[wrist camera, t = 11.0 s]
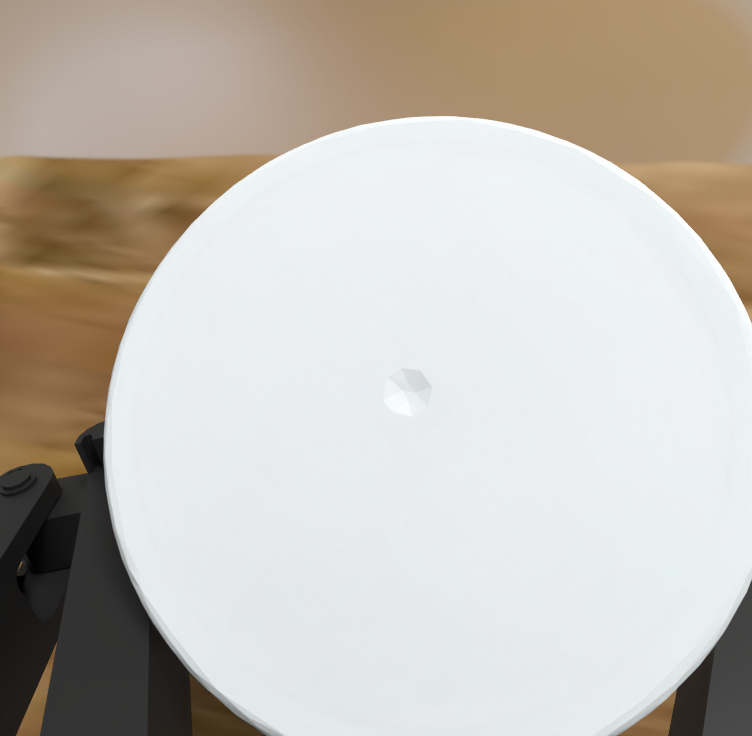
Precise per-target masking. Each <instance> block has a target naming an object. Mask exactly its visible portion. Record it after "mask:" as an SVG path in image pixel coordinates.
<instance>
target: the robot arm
mask: <svg viewBox="0 0 752 736" xmlns="http://www.w3.org/2000/svg"><path fill="white" fill-rule="evenodd" d="M104 426H105V421H104V422H101V423H98V424H96V425H95V426H93V427H91V428H89V429H87V430H86V431H85V432H84V433H82V434H81V435H80V436H79V437H78V439H77V441H76V442H75V444H74V445H75V447H76V449H77V451H78V453H79V455H80V457H81V459H82V461H83V464H84V466H85V468H86V470H87V472H88V473H87V474H81V475H76V476H70V477H64V478H59V479H57V478H56V476H55V474H54V472H53V470H52V468H51V467H50V466H48V465H46V464H29V465H25V466H20V467H17V468H15V469H12V470H10V471H8V472H6V473H5V474H3V475H2V476H0V736H16V734H17V731H18V729H19V727H20V725H21V722H22V720H23V718H24V715H25V713H26V711H27V709H28V706H29V704H30V702H31V700H32V697H33V695H34V693H35V690H36V688H37V686H38V684H39V681H40V679H41V677H42V674H43V672H44V670H45V668H46V665H47V663H48V661H49V658H50V656H51V654H52V652H53V649H54V647H55V645H56V643H57V646H56V652H55V657H54V663H53V668H52V674H51V679H50V685H49V690H48V695H47V701H46V706H45V712H44V717H43V723H42V728H41V734H40V736H192V718H191V699H190V681H189V671H188V670H187V668H186V667H185V666H184V665H183V663H182V662H181V661H180V659H179V658H178V657H177V656H176V654H175V653H174V652H173V651H172V649H171V648H170V647H169V645H168V644H167V643H166V641H165V640H164V638H163V637H162V636H161V634H160V633H159V631H158V630H157V628H156V627H155V626H154V624H153V623H152V621H151V619H150V617H149V615H148V614H147V612H146V610H145V608H144V606H143V604H142V602H141V600H140V598H139V596H138V594H137V592H136V590H135V588H134V586H133V584H132V582H131V579H130V577H129V575H128V572H127V570H126V567H125V565H124V563H123V560H122V558H121V554H120V551H119V548H118V544H117V541H116V538H115V534H114V531H113V526H112V521H111V516H110V511H109V506H108V500H107V494H106V487H105V474H104V459H103V455H104ZM21 561H22V565H21V567H20V569H19V570H18V568H19V565H20V563H21ZM17 571H18V572H17ZM57 640H58V641H57ZM668 736H752V580H751V582H750V585H749V588H748V590H747V593H746V594H745V596H744V598H743V600H742V601H741V603H740V605H739V607H738V609H737V610H736V612H735V614H734V616H733V617H732V619H731V621H730V623H729V624H728V626H727V628H726V630H725V631H724V633H723V634H722V636H721V637H720V639H719V640H718V641H717V643H716V644H715V646H714V647H713V649H712V650H711V651H710V652H709V654H708V655H707V656H706V658H705V659H704V660H703V661H702V663H701V664H700V665H699V666H698V667H697V668H696V669H695V670H694V672H693V673H692V674H691V675H690V676H689V677H688V678H687V679H686V680H685V681H684V682H683V683H682V684H681V685H680V686H679V687H678V688H677V693H676V698H675V704H674V709H673V714H672V719H671V724H670V730H669V735H668Z"/></svg>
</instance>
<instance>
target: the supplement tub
mask: <svg viewBox="0 0 752 736" xmlns="http://www.w3.org/2000/svg"><path fill="white" fill-rule="evenodd" d="M103 459H104V474H105V487H106V494H107V500H108V506H109V511H110V516H111V521H112V526H113V531H114V534H115V538H116V541H117V544H118V548H119V551H120V554H121V558H122V560H123V563H124V565H125V567H126V570H127V572H128V575H129V577H130V579H131V582H132V584H133V586H134V588H135V590H136V592H137V594H138V596H139V598H140V600H141V602H142V604H143V606H144V608H145V610H146V612H147V614H148V615H149V617H150V619H151V621H152V623H153V624H154V626H155V627H156V628H157V630H158V631H159V633H160V634H161V636H162V637H163V638H164V640H165V641H166V643H167V644H168V645H169V647H170V648H171V649H172V651H173V652H174V653H175V654H176V656H177V657H178V658H179V659H180V661H181V662H182V663H183V665H184V666H185V667H186V668H187V670H188V671H189V672H190V673H191V674H192V675H193V676H194V677H195V678H196V679H197V680H198V681H199V682H200V683H201V684H202V685H203V686H204V687H205V688H206V689H207V690H208V691H210V692H211V693H212V694H213V695H214V696H215V697H217V698H218V699H219V700H220V701H221V702H222V703H223V704H224V705H225V706H227V707H228V708H229V709H230V710H231V711H232V712H233V713H234V714H235V715H237V716H238V717H240V718H241V719H242V720H244V721H245V722H247V723H248V724H250V725H251V726H253V727H254V728H256V729H257V730H259V731H260V732H262V733H263V734H265V735H266V736H617V735H619V734H620V733H622V732H623V731H625V730H627V729H628V728H630V727H631V726H633V725H634V724H635V723H637V722H638V721H639V720H641V719H642V718H644V717H645V716H646V715H648V714H649V713H650V712H652V711H653V710H654V709H655V708H657V707H658V706H659V705H660V704H661V703H662V702H664V701H665V700H666V699H667V698H668V697H669V696H670V695H671V694H672V693H673V692H674V691H675V690H676V689H677V688H678V687H679V686H680V685H681V684H682V683H683V682H684V681H685V680H686V679H687V678H688V677H689V676H690V675H691V674H692V673H693V672H694V670H695V669H696V668H697V667H698V666H699V665H700V664H701V663H702V661H703V660H704V659H705V658H706V656H707V655H708V654H709V652H710V651H711V650H712V649H713V647H714V646H715V644H716V643H717V641H718V640H719V639H720V637H721V636H722V634H723V633H724V631H725V630H726V628H727V626H728V624H729V623H730V621H731V619H732V617H733V616H734V614H735V612H736V610H737V609H738V607H739V605H740V603H741V601H742V600H743V598H744V596H745V594H746V593H747V590H748V588H749V585H750V582H751V580H752V323H751V321H750V319H749V316H748V314H747V312H746V310H745V307H744V306H743V304H742V302H741V300H740V298H739V296H738V294H737V292H736V290H735V288H734V286H733V285H732V283H731V281H730V279H729V277H728V276H727V274H726V273H725V271H724V270H723V268H722V267H721V265H720V264H719V263H718V261H717V260H716V259H715V257H714V256H713V255H712V253H711V252H710V250H709V249H708V248H707V246H706V245H705V244H704V242H703V241H702V240H701V238H700V237H699V236H698V235H697V234H696V233H695V232H694V231H693V230H692V228H691V227H690V226H689V225H688V224H687V223H686V222H685V221H684V220H683V219H682V218H681V217H680V216H679V214H678V213H676V212H675V211H674V210H673V209H672V208H671V207H670V206H669V205H667V204H666V203H665V202H664V201H663V200H662V199H661V198H659V197H658V196H657V195H656V194H655V193H653V192H652V191H651V190H650V189H648V188H647V187H646V186H645V185H644V184H642V183H641V182H640V181H638V180H637V179H635V178H634V177H632V176H631V175H629V174H628V173H626V172H625V171H623V170H622V169H620V168H619V167H617V166H616V165H614V164H613V163H611V162H609V161H607V160H605V159H603V158H601V157H600V156H598V155H596V154H594V153H592V152H590V151H588V150H586V149H583V148H581V147H579V146H577V145H574V144H572V143H570V142H567V141H565V140H562V139H559V138H556V137H553V136H550V135H547V134H544V133H542V132H539V131H537V130H533V129H529V128H525V127H521V126H517V125H513V124H509V123H503V122H497V121H491V120H485V119H476V118H465V117H455V116H442V117H441V116H439V117H412V118H403V119H395V120H388V121H383V122H377V123H371V124H366V125H360V126H357V127H353V128H350V129H346V130H343V131H339V132H336V133H333V134H330V135H327V136H324V137H321V138H319V139H317V140H314V141H312V142H310V143H307V144H305V145H302V146H300V147H298V148H296V149H293V150H291V151H289V152H287V153H285V154H283V155H281V156H279V157H277V158H275V159H273V160H272V161H270V162H268V163H266V164H265V165H263V166H262V167H260V168H258V169H257V170H256V171H254V172H253V173H251V174H250V175H248V176H247V177H245V178H244V179H242V180H241V181H239V182H238V183H236V184H235V185H234V186H233V187H231V188H230V189H229V190H228V191H227V192H225V193H224V194H223V195H222V196H221V197H220V198H218V199H217V200H216V201H215V202H214V203H213V204H212V205H211V206H210V207H209V208H208V209H206V210H205V211H204V212H203V213H202V214H201V215H200V216H199V217H198V218H197V219H196V220H195V221H194V222H193V223H192V224H191V225H190V227H189V228H188V229H187V230H186V231H185V232H184V234H183V235H182V236H181V237H180V238H179V240H178V241H177V242H176V243H175V244H174V246H173V247H172V248H171V249H170V251H169V252H168V254H167V255H166V256H165V258H164V259H163V261H162V262H161V263H160V265H159V266H158V268H157V269H156V271H155V273H154V274H153V276H152V278H151V279H150V281H149V283H148V284H147V286H146V288H145V289H144V291H143V293H142V295H141V297H140V298H139V300H138V302H137V304H136V306H135V308H134V311H133V313H132V315H131V317H130V319H129V322H128V325H127V327H126V330H125V333H124V335H123V338H122V341H121V343H120V346H119V350H118V353H117V357H116V360H115V364H114V367H113V372H112V376H111V381H110V386H109V391H108V399H107V407H106V416H105V426H104V455H103Z"/></svg>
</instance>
